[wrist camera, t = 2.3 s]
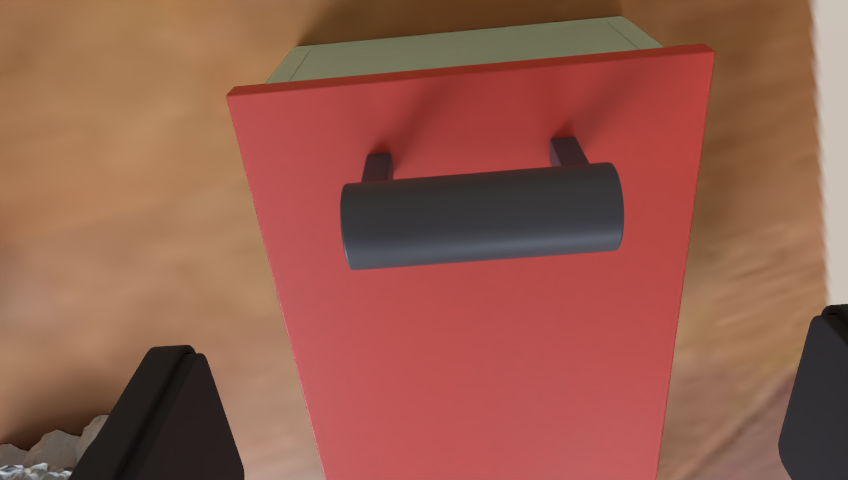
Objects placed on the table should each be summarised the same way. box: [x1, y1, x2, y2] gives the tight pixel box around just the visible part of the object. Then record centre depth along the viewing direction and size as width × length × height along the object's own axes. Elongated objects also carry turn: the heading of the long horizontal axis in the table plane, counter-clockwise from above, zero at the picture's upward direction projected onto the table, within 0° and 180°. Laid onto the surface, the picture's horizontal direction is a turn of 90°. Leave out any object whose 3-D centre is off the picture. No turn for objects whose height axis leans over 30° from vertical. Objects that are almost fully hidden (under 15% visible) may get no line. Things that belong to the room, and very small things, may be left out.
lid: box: [226, 44, 715, 480], centre depth 19 cm, size 16×13×5 cm
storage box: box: [265, 16, 663, 84], centre depth 25 cm, size 16×13×8 cm
